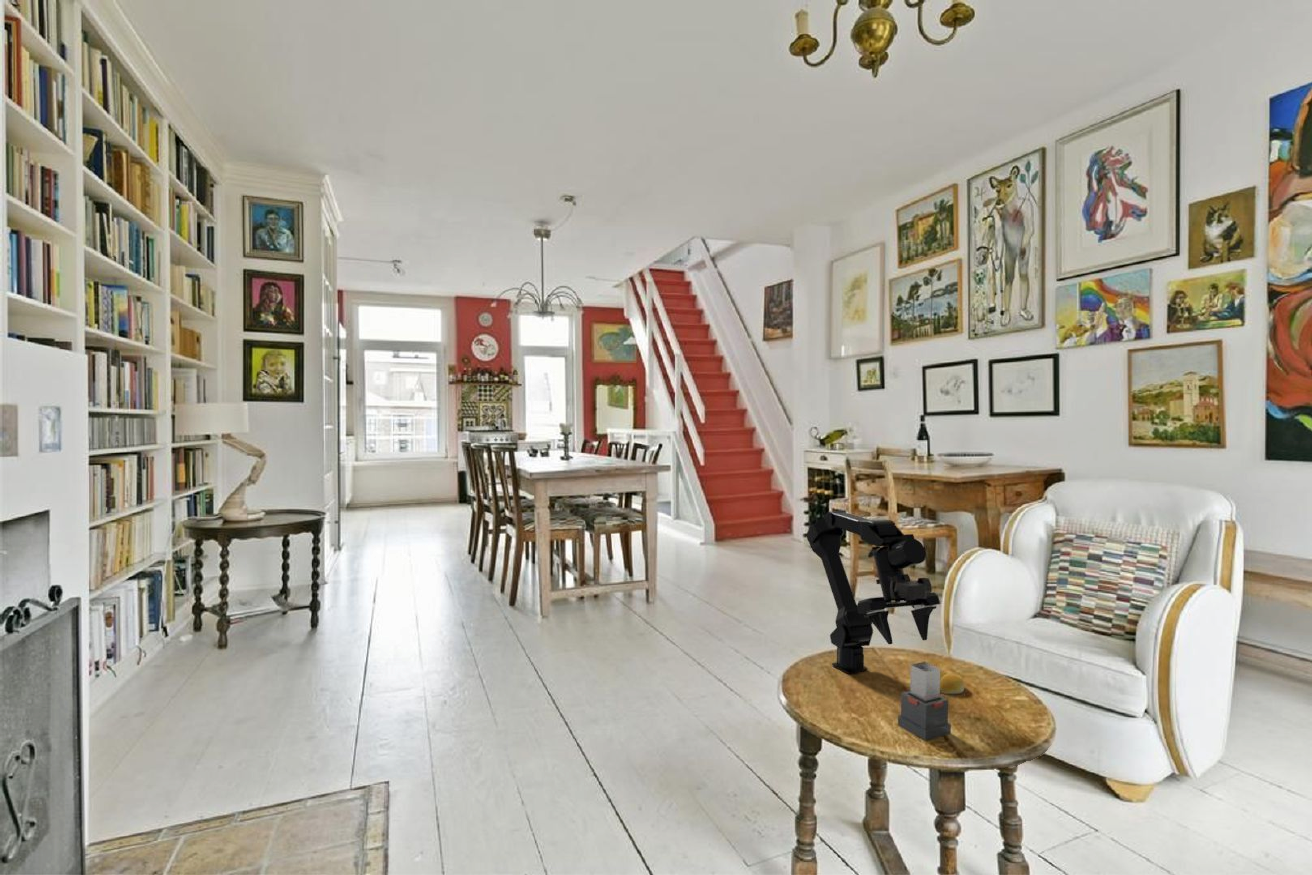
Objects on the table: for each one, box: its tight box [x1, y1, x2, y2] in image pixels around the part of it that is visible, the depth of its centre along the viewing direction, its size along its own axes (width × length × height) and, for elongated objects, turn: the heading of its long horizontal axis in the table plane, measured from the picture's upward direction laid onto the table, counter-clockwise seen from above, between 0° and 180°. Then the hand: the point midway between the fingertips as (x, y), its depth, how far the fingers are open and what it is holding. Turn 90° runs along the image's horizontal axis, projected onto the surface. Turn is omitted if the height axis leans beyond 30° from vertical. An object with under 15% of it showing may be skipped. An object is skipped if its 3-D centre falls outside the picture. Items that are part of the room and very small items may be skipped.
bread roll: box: [940, 668, 965, 695], centre depth 153 cm, size 8×9×4 cm
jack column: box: [909, 661, 941, 703], centre depth 132 cm, size 4×4×11 cm
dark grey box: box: [897, 690, 952, 742], centre depth 132 cm, size 7×7×7 cm
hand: (907, 642), depth 142 cm, fingers open, 9 cm apart
